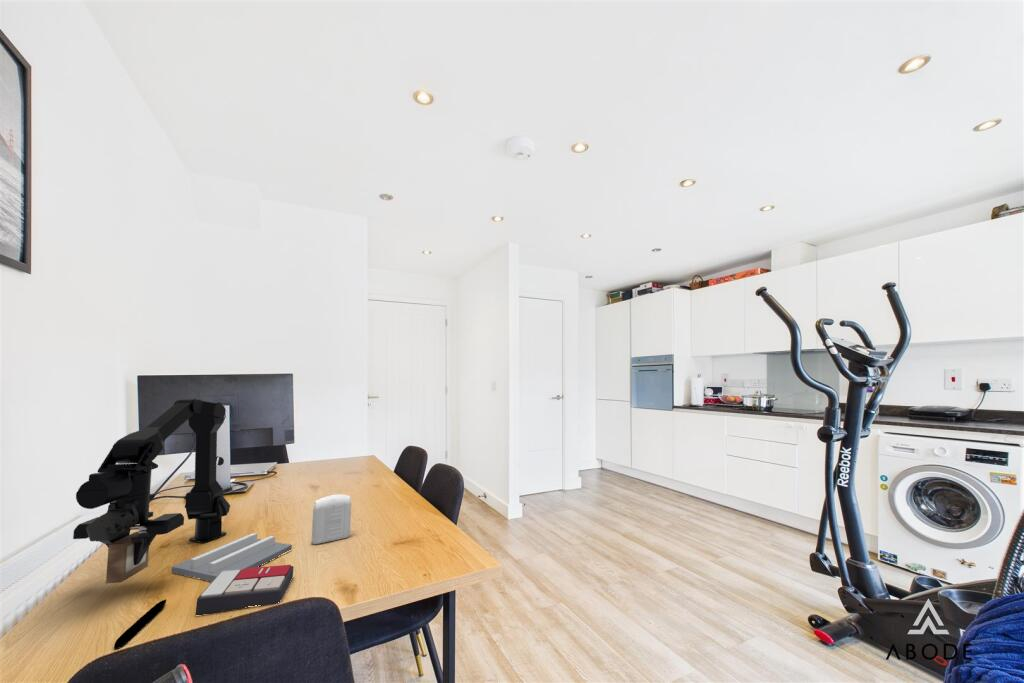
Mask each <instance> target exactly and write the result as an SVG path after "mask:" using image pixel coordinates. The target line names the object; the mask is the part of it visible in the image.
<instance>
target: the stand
mask: <svg viewBox="0 0 1024 683" xmlns="http://www.w3.org/2000/svg"><path fill="white" fill-rule="evenodd" d="M291 549H292V550H293V545H292V544H289V543H284V542H278V541H276V536H274V535H269V536H267V537H265V538H263V539H259V538H258V533H255V532H253V533H251V534H248V535H244V536H242V537H239V538H237V539H234V540H233V541H229V542H227V543H225V544H222V545H220V546H218V547H215V548H213V549H211V550H208V551H205V552H203V553H201V554H199V555H196V556H194V557H191V558H188V559H187V560H185V561H181V562H180V563H176V564H175V565H172V566H171V570H170V571H171V572H172V573H171V574H173V573H176V574H175V575H177V574H181V575H180V576H182V575H186V576H190V577H189V578H191V577H195V578H200V579H203V580H202V581H204V580H207V581H206V582H208V581H210V582H209V583H211V582H212V581H213V580H214V579H215V578H216V577H217V576H218V575H219V573H221V572H222V571H231V570H242V569H245V568H256V567H258V566H260V565H262V564H264V563H266V562H268V561H270V560H272V559H274V558H276V557H278V556H279V555H281V554H283V553H285V552H287V551H289V550H291ZM278 558H279V557H278ZM276 559H277V558H276ZM274 560H275V559H274ZM272 561H273V560H272ZM270 562H271V561H270ZM268 563H269V562H268ZM266 564H267V563H266ZM186 576H185V577H186ZM195 578H194V579H195Z"/></svg>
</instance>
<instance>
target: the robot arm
mask: <svg viewBox="0 0 1024 683" xmlns="http://www.w3.org/2000/svg"><path fill="white" fill-rule="evenodd" d="M226 411H227V410H226V407H225V406H224V405H223V403H221V402H219V401H218V402H210V401H204V400H201V399H197V398H179V399H178V400H176V401H175V402H174V403H173V405H172V406H171V407H169V408H168V409H167V410H166V411H164V412H163V413H162V414H160V416H159V417H157V418H156V419H154V421H152V422H151V423H150V424H148V425H147V426H146V427H145V428H142V429H140V430H137V431H134V432H130V433H129V434H127V435H125V436H123V437H121V438H120V439H118V440H117V441H116V442H115V443H113V445H112V448H111V449H110V450H109V452H108V453H107V455H106V457H105V458H104V460H103V462H102V463H101V464H100V466H99V467H98V469H97V471H96V472H95V473H94V472H93V473H89V475H88V480H87V481H85V482H84V483H83V484H81V485H80V486H79V487H78V490H77V491H76V493H75V500H76V502H77V503H78V505H79V506H80V507H81V508H84V509H88V510H94V509H97V508H99V507H101V506H105V505H108V504H109V505H108V506H107V511H106V512H105V513H103V514H101V515H99V516H96V517H94V518H91V519H90V520H89V519H88V520H87V521H84V522H81V523H79V524H78V525H77V526H76V527H75V529H73V532H72V533H73V534H72V539H73V540H81V539H82V540H84V539H89V541H90V542H100V543H102V544H105V546H106V547H107V548H108V546H109V544H111V543H113V542H116V541H118V540H120V539H122V538H124V537H126V536H128V535H130V534H131V530H133V531H134V530H138V531H137V532H138V534H137V535H135V536H133V537H131V538H130V539H131V540H132V541H133V542H134V543H135V544H134V565H137V564H139V563H140V562H141V560H142V558H143V556H144V555H145V553H146V551H147V549H148V547H149V548H150V546H151V544H152V542H153V541H154V539H155V538H156V536H157V535H166V534H169V533H170V532H172V531H174V530H176V529H178V528H180V527H182V526H183V525H184V524H185V517H184V514H182V513H181V512H179V513H178V512H175V513H164V514H162V515H160V516H158V517H156V518H154V519H153V516H154V511H150V502H151V501H152V500H153V499H155V493H151V486H152V485H151V483H152V482H151V481H152V470H155V469H158V468H159V465H158V464H157V463H156V462H154V460H155V459H156V458H157V457H158V455H159V454H160V453H161V452H162V451H163V449H164V448H165V446H164V442H165V441H166V440H167V438H169V437H170V436H171V435H172V434H173V433H174V432H175V431H177V430H178V429H179V428H180V427H181V426H183V424H184V423H186V422H187V421H188V422H187V423H188V427H189V428H190V429H191V431H192V432H193V433H194V434H195V448H194V449H195V451H194V453H195V454H194V485H193V486H192V488H191V490H189V492H186V494H185V495H184V497H185V499H184V500H185V503H184V504H185V505H184V508H185V512H186V517H187V520H188V521H189V520H195V525H194V526H195V529H194V536H193V537H189V539H188V542H189V541H190V542H195V543H200V544H205V542H206V543H208V542H211V541H213V540H215V538H216V539H218V538H221V537H224V536H226V535H225V534H227V532H225V531H222V528H223V521H222V518H223V517H226V516H228V514H229V512H230V508H231V504H230V503H229V502H228V500H227V499H226V498H225V497H224V488H223V487H222V486H221V484H220V483H219V482H218V481H217V461H218V460H217V455H218V454H217V453H218V452H217V451H218V450H217V448H218V447H217V446H218V445H217V444H218V431H219V429H220V428H221V427H222V425H223V424H224V422H225V417H226V416H225V415H226V413H227V412H226ZM150 500H151V501H150ZM150 518H152V519H150ZM220 536H221V537H220ZM210 540H211V541H210Z"/></svg>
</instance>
